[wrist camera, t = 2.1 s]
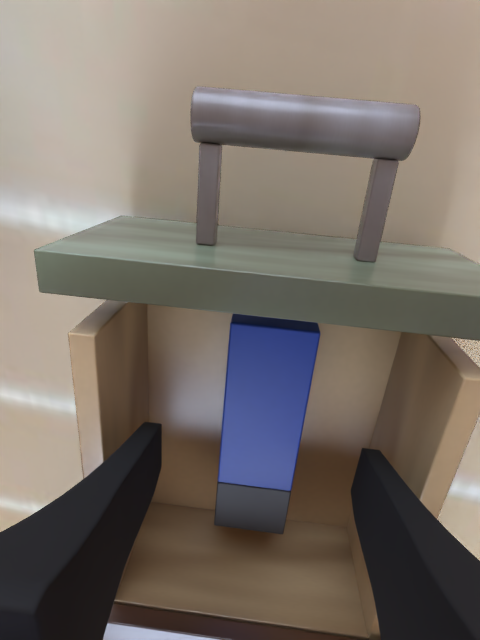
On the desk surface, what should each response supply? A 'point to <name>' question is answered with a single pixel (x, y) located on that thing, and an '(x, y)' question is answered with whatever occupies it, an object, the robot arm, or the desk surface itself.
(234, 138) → the drawer
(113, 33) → the desk surface
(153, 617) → the cabinet
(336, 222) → the desk surface
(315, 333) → the eraser
